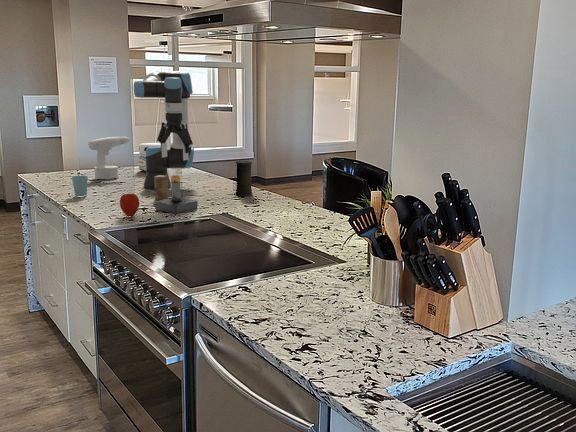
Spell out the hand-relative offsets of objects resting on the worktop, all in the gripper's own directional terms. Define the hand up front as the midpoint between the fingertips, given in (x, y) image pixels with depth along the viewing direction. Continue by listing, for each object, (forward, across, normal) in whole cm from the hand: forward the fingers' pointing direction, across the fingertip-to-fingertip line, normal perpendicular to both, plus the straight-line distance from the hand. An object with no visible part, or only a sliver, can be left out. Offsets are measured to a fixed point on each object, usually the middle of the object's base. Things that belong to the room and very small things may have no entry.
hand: (175, 158), depth 266 cm
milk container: (+26, -89, +69) cm, 115 cm away
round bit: (+24, 0, 0) cm, 24 cm away
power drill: (+25, -90, +36) cm, 100 cm away
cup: (+25, -59, -9) cm, 64 cm away
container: (+25, +4, +47) cm, 53 cm away
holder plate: (+24, 0, 0) cm, 24 cm away
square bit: (+25, -22, +12) cm, 35 cm away
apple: (+24, -6, -23) cm, 34 cm away
